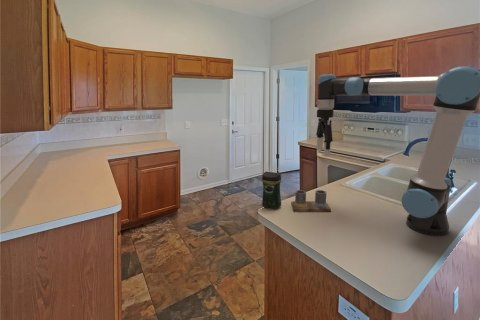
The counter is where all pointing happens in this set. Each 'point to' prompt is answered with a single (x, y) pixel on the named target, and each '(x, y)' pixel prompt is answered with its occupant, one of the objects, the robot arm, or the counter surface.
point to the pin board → (310, 207)
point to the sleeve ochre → (300, 198)
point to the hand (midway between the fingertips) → (323, 153)
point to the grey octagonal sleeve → (320, 198)
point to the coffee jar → (271, 190)
